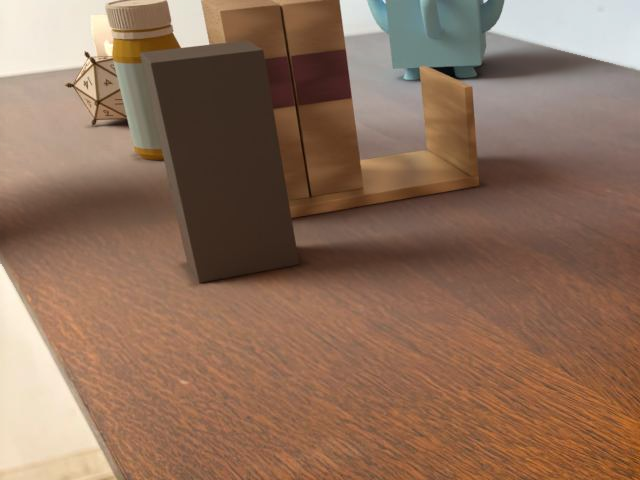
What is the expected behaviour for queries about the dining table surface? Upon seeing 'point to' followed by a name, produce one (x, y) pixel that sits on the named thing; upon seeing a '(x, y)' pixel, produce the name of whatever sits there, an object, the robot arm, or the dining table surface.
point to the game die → (100, 89)
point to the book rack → (342, 110)
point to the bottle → (139, 63)
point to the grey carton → (222, 157)
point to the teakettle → (436, 32)
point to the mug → (102, 35)
